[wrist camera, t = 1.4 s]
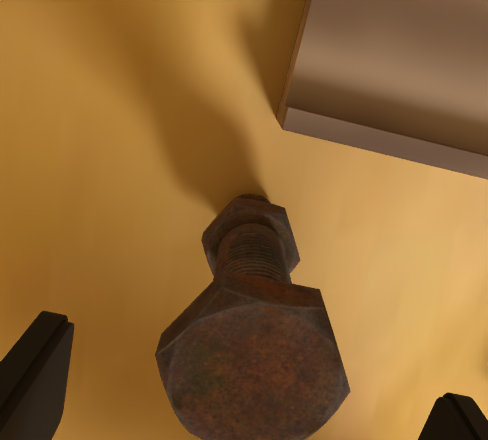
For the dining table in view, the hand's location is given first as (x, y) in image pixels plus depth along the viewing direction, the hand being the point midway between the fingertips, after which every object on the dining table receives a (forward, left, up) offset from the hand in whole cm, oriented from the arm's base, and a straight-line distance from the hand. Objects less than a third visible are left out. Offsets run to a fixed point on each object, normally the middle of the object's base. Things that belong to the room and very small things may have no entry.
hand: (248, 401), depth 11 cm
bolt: (0, 0, -17) cm, 17 cm away
